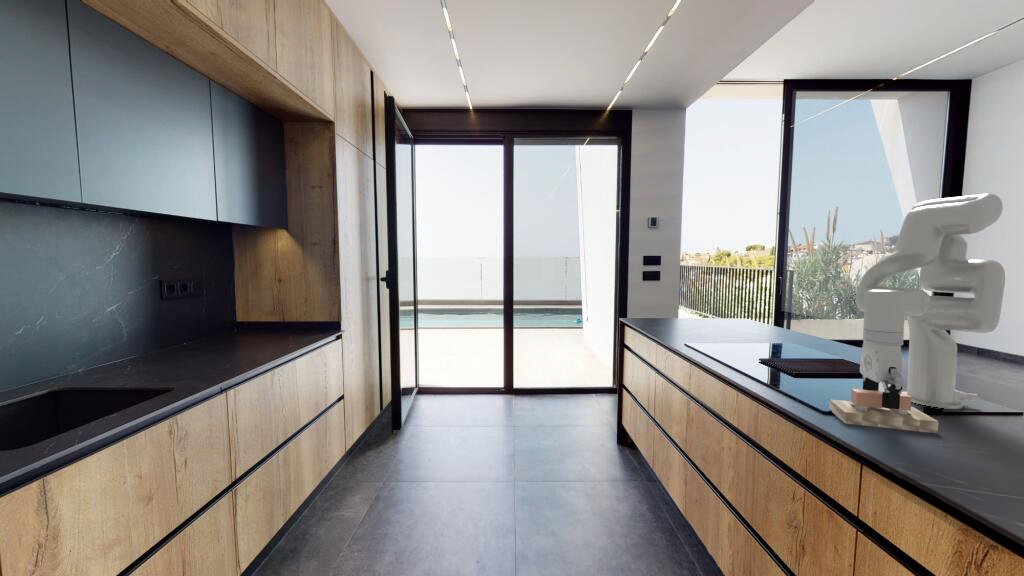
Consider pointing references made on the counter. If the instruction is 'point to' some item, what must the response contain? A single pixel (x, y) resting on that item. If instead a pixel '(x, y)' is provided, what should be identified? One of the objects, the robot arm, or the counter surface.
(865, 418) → the beige flat slotted block
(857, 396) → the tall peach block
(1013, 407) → the counter surface
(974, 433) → the counter surface
